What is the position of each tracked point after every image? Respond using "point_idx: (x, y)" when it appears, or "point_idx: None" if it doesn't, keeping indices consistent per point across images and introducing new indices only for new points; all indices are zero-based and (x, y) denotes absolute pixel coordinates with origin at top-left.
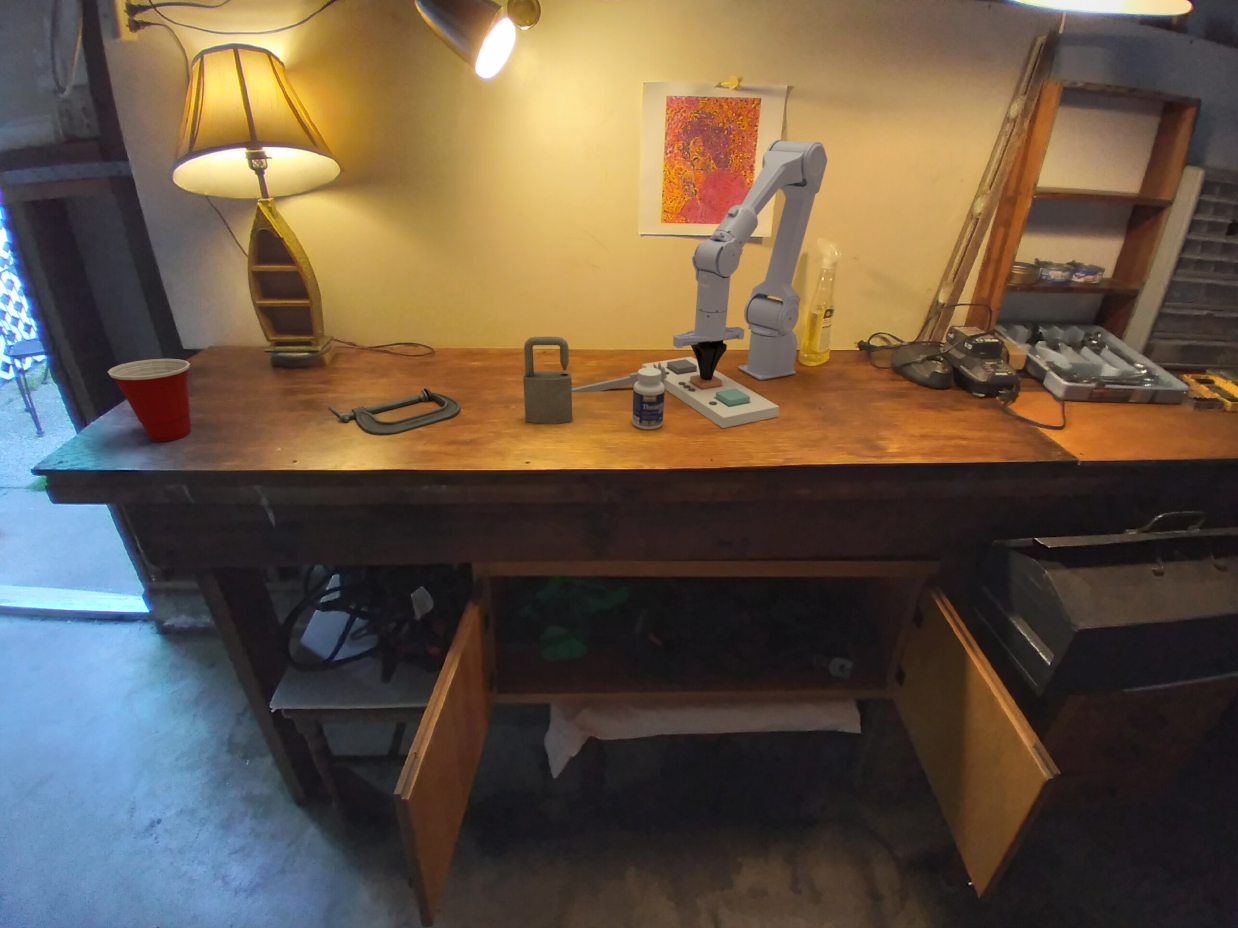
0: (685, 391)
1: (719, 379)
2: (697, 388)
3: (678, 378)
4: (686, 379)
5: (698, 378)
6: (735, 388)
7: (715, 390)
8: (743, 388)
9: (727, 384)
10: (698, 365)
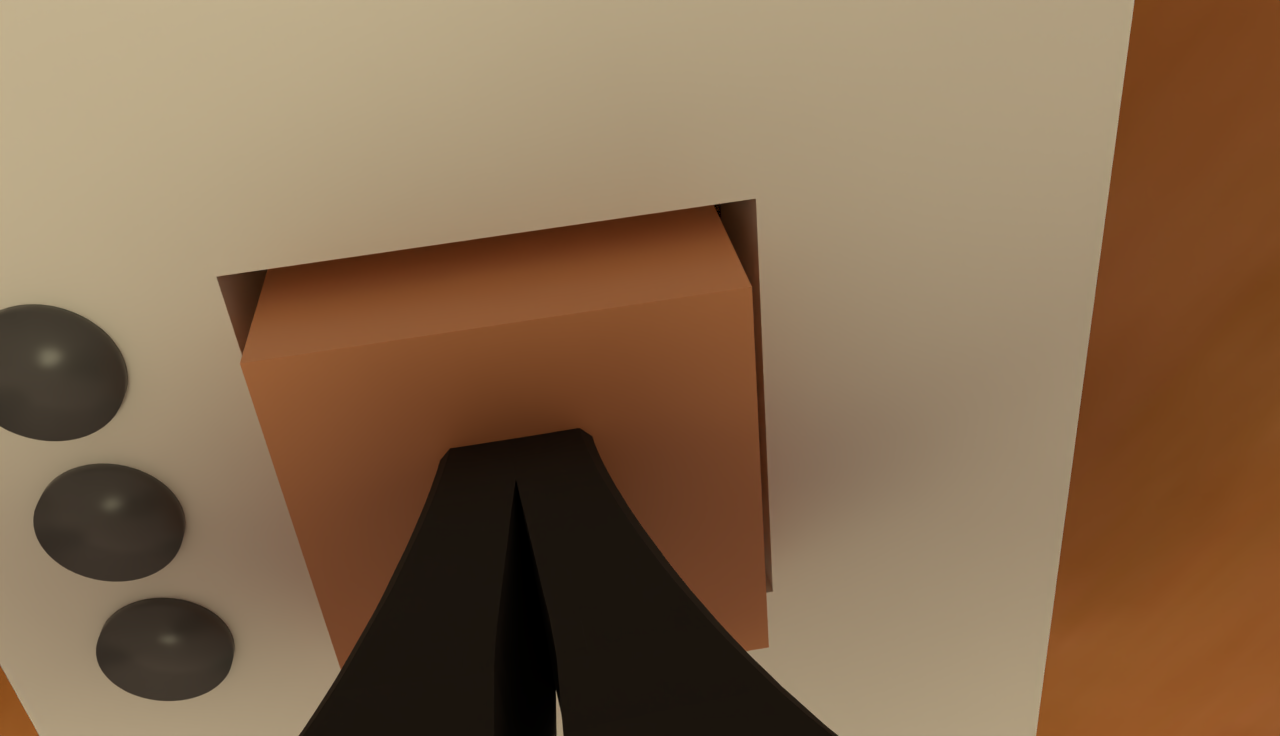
0: (36, 671)
1: (750, 611)
2: (293, 606)
3: (30, 63)
4: (217, 169)
5: (376, 507)
6: (883, 690)
7: (558, 702)
8: (989, 702)
9: (871, 550)
10: (380, 611)
